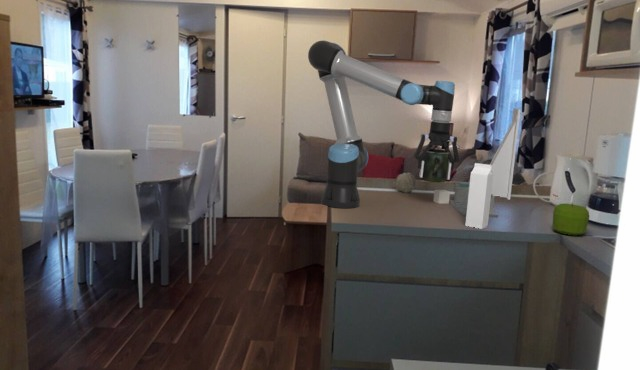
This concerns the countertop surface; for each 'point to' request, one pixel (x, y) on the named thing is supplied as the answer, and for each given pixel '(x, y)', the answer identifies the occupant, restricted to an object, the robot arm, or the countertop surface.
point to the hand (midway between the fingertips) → (434, 177)
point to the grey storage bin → (462, 199)
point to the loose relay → (441, 196)
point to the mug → (435, 165)
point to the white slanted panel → (505, 160)
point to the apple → (570, 219)
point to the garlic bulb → (405, 182)
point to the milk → (479, 196)
